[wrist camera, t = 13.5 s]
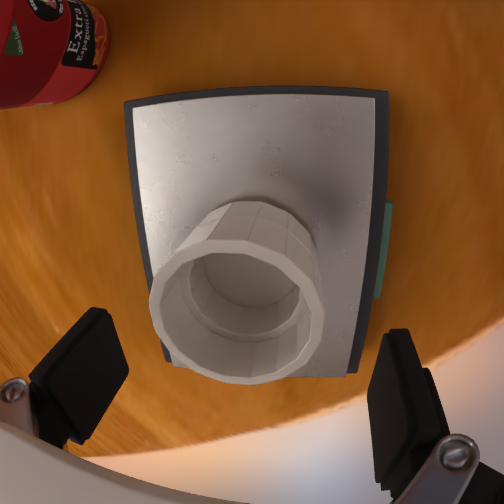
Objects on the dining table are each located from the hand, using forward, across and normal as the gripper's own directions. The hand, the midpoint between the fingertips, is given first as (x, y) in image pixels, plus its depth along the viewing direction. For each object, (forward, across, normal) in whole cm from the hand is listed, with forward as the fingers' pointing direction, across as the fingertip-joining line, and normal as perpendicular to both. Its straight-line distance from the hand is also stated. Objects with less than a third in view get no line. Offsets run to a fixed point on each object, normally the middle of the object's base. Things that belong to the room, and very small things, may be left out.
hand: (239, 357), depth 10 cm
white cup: (+7, +1, 0) cm, 8 cm away
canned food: (+11, +14, -14) cm, 22 cm away
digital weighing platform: (+8, +1, 0) cm, 8 cm away
